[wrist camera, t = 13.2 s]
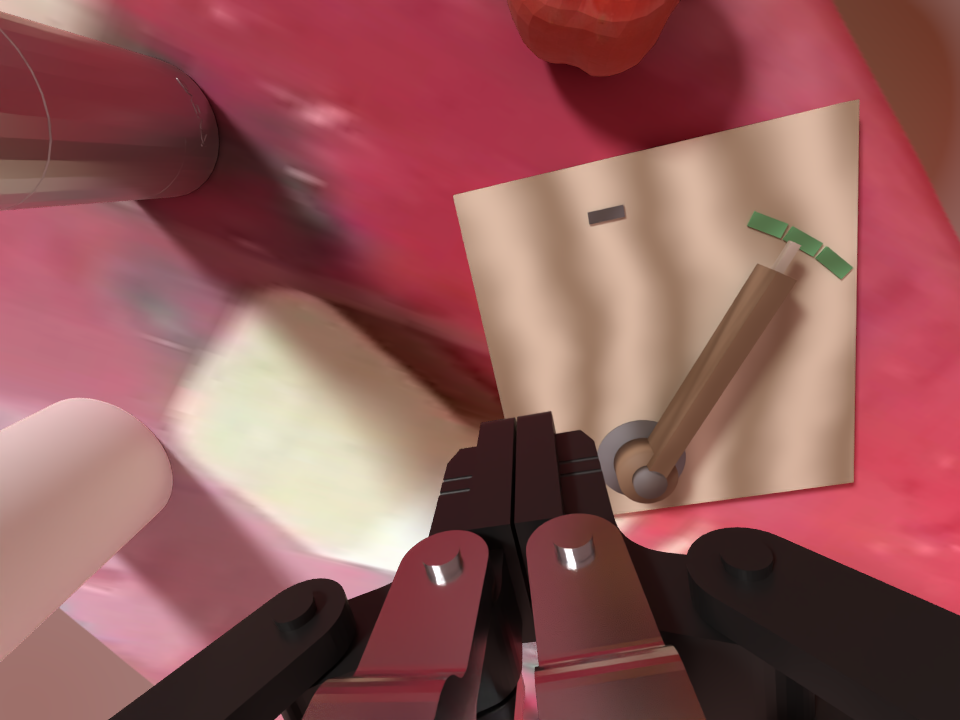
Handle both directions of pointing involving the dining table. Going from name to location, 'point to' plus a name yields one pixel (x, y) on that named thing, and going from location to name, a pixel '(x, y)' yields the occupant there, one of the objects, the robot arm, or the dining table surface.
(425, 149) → the dining table surface
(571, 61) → the vegetable
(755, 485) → the dial board
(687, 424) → the dial lever
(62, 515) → the canister
